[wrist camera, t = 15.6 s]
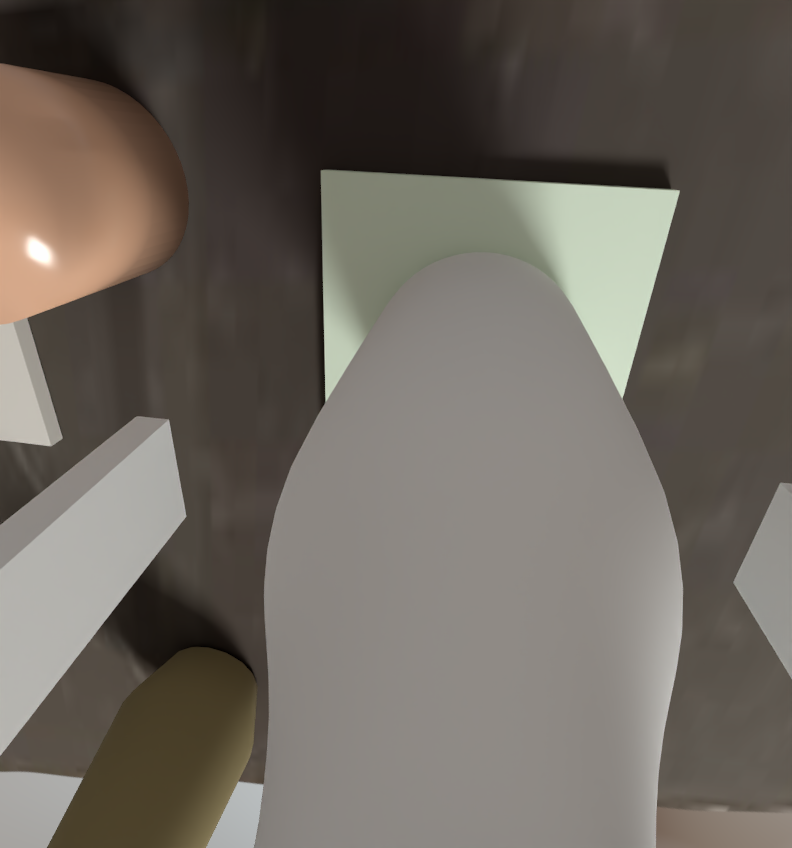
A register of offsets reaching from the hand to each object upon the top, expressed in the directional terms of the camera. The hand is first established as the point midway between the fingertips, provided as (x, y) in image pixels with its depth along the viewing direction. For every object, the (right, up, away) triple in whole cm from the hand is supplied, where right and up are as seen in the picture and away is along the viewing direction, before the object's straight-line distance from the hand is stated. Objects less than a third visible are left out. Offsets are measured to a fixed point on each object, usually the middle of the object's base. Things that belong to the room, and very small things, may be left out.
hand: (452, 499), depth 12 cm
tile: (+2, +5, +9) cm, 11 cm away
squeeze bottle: (-13, -15, +22) cm, 30 cm away
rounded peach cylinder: (-13, +11, +9) cm, 19 cm away
